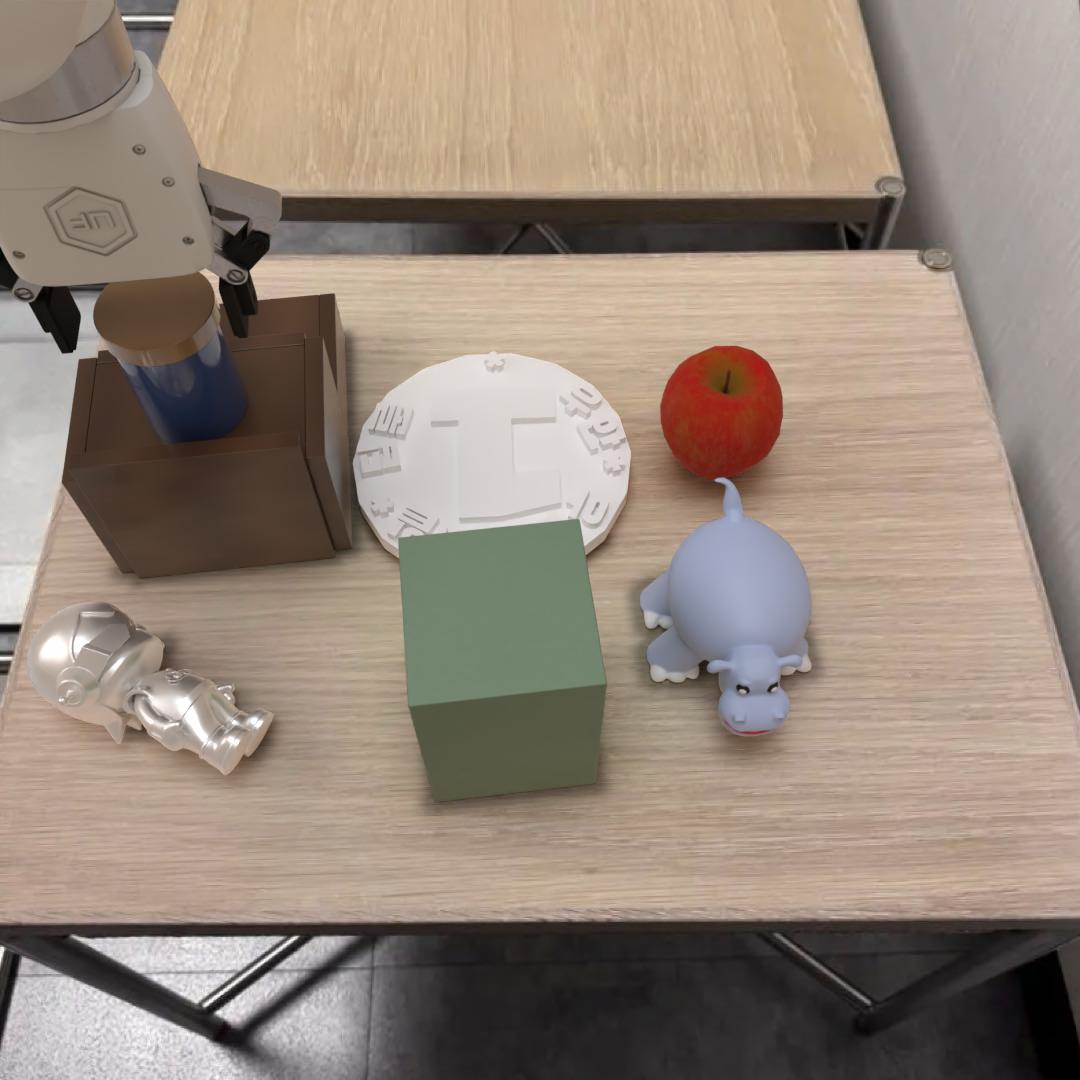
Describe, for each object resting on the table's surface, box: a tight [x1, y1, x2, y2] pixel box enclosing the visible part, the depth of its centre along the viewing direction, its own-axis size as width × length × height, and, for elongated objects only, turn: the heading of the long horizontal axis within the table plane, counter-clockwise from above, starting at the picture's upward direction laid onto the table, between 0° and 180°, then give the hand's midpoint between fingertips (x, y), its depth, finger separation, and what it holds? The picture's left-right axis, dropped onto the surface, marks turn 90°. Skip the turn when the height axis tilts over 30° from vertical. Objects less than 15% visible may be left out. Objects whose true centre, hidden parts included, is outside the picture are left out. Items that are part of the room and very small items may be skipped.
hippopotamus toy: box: [639, 478, 812, 737], centre depth 67 cm, size 11×15×10 cm
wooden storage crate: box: [61, 292, 353, 579], centre depth 75 cm, size 16×21×13 cm
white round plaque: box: [352, 350, 632, 559], centre depth 77 cm, size 20×20×3 cm
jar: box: [92, 271, 248, 443], centre depth 64 cm, size 7×7×9 cm
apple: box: [659, 345, 784, 481], centre depth 75 cm, size 9×8×11 cm
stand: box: [398, 519, 608, 803], centre depth 62 cm, size 10×10×15 cm
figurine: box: [26, 600, 275, 776], centre depth 66 cm, size 11×7×15 cm
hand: (158, 328), depth 62 cm, fingers open, 9 cm apart
